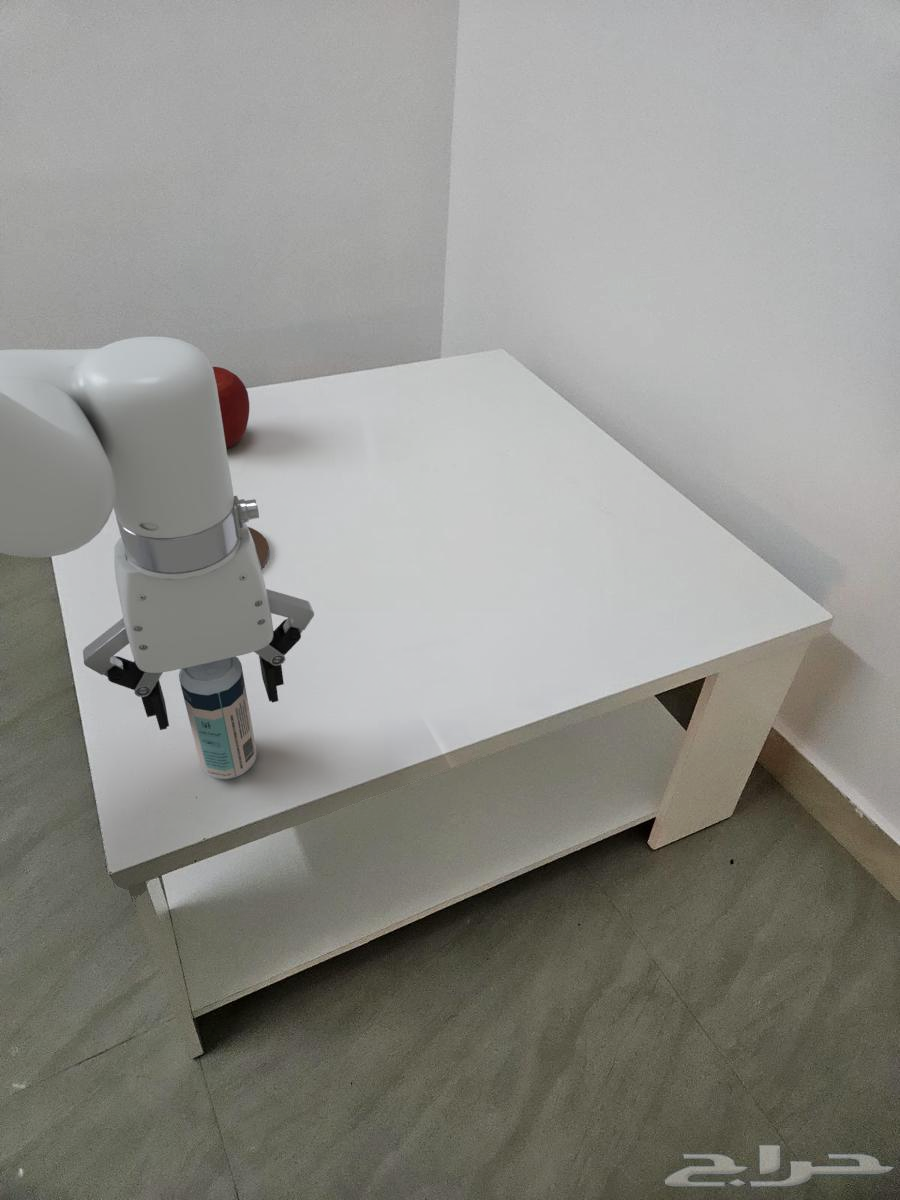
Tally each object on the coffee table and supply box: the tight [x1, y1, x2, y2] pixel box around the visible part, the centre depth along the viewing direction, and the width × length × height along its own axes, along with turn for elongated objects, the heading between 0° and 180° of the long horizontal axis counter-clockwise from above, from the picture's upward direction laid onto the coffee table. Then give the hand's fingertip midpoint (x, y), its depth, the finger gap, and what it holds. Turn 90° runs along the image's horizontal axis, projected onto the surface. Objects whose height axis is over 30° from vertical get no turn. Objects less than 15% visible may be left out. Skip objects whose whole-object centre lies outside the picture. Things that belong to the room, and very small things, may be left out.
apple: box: [212, 366, 250, 449], centre depth 107 cm, size 10×10×10 cm
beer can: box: [178, 656, 258, 780], centre depth 67 cm, size 5×5×12 cm
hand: (217, 702), depth 66 cm, fingers open, 8 cm apart
